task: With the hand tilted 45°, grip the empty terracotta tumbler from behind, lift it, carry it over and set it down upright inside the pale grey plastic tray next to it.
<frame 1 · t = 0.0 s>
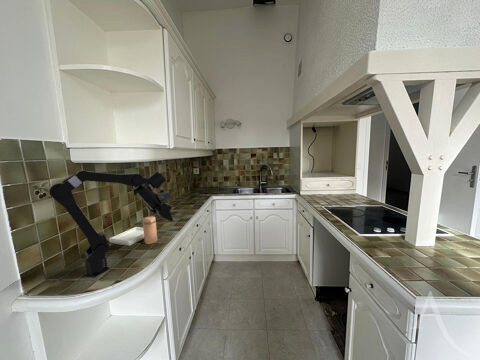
hand: (168, 218, 104), 15 cm above the counter, tool tilted 35°, fingers open, 9 cm apart
tray: (132, 237, 119), on the counter
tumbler: (151, 241, 113), on the counter
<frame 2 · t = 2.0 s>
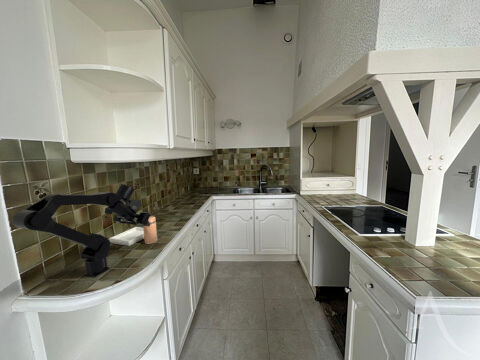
hand: (142, 224, 107), 11 cm above the counter, tool tilted 45°, fingers open, 9 cm apart
nothing on the counter moved.
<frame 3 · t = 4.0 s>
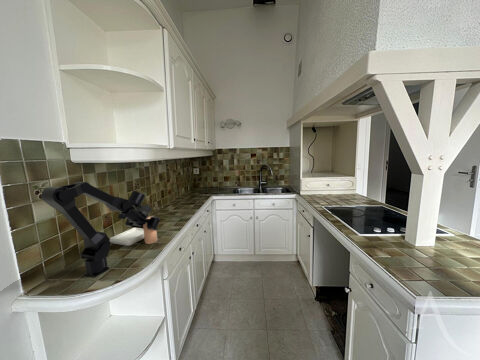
hand: (151, 228, 113), 7 cm above the counter, tool tilted 45°, fingers closed on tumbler, 6 cm apart
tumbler: (151, 241, 113), on the counter, touching gripper
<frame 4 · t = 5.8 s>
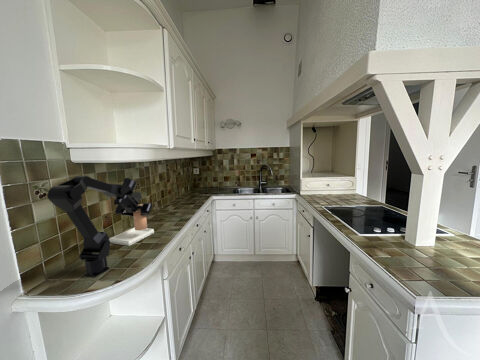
hand: (141, 216, 117), 13 cm above the counter, tool tilted 45°, fingers closed on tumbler, 6 cm apart
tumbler: (141, 228, 116), point 6 cm above the counter, touching gripper
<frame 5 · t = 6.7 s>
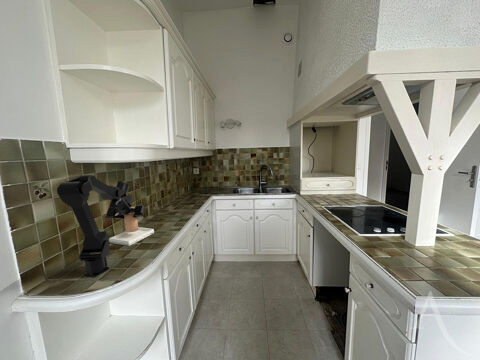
hand: (132, 218, 119), 11 cm above the counter, tool tilted 45°, fingers closed on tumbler, 6 cm apart
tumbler: (132, 230, 118), point 4 cm above the counter, touching gripper
when the fingers open (9 cm above the counter, at t = 7.6 s): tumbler drops 1 cm, resting on tray.
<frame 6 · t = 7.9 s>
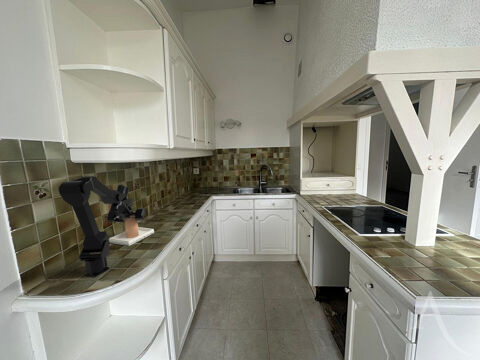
hand: (132, 221, 119), 9 cm above the counter, tool tilted 45°, fingers open, 9 cm apart
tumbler: (132, 236, 119), point 1 cm above the counter, touching tray
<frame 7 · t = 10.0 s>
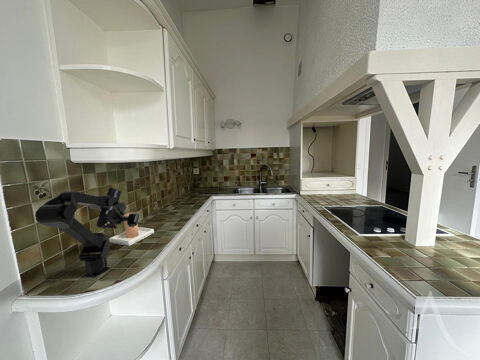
hand: (125, 227, 110), 9 cm above the counter, tool tilted 45°, fingers open, 9 cm apart
nothing on the counter moved.
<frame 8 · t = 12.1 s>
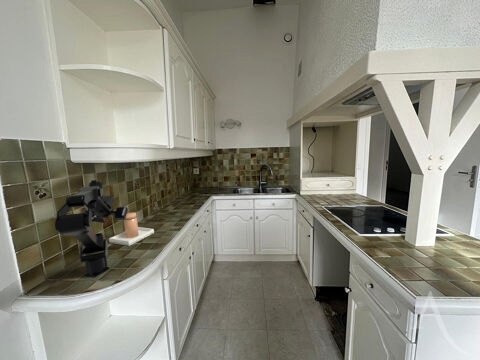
hand: (113, 221, 106), 14 cm above the counter, tool tilted 45°, fingers open, 9 cm apart
nothing on the counter moved.
at the end: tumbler inside the target area on the tray (0.1 cm from its centre), point 1.1 cm above the tray's base; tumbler tilted 1°; the gripper is holding nothing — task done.
